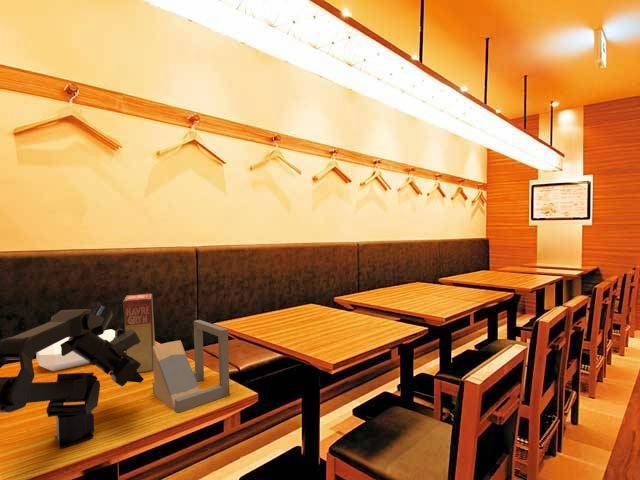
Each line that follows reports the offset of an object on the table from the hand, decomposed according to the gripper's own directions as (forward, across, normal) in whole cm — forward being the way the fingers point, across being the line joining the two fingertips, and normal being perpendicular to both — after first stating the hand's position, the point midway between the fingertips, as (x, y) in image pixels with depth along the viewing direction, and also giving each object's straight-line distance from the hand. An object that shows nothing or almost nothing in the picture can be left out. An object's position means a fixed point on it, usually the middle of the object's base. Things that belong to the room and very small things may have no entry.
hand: (142, 380), depth 101 cm
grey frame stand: (+15, 0, -4) cm, 15 cm away
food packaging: (+13, +35, -2) cm, 37 cm away
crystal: (+4, +57, +7) cm, 58 cm away
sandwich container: (+13, -1, -1) cm, 13 cm away
